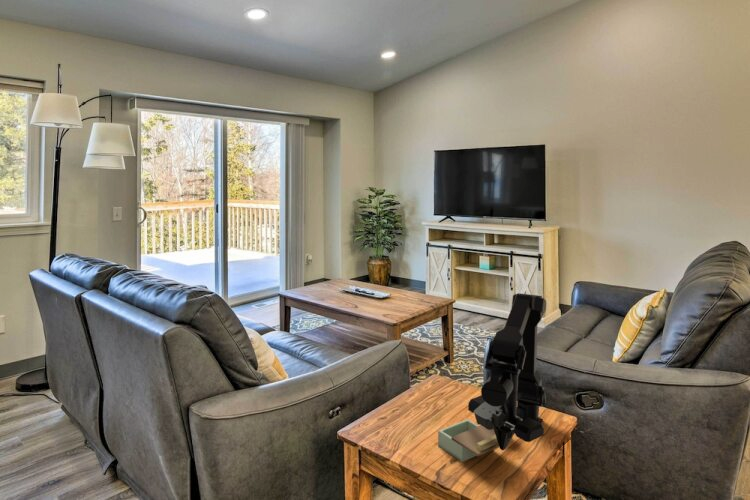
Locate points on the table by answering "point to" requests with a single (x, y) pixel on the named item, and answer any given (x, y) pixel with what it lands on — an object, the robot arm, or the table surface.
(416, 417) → the table surface
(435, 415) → the table surface
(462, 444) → the lid
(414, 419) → the table surface
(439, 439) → the box body
